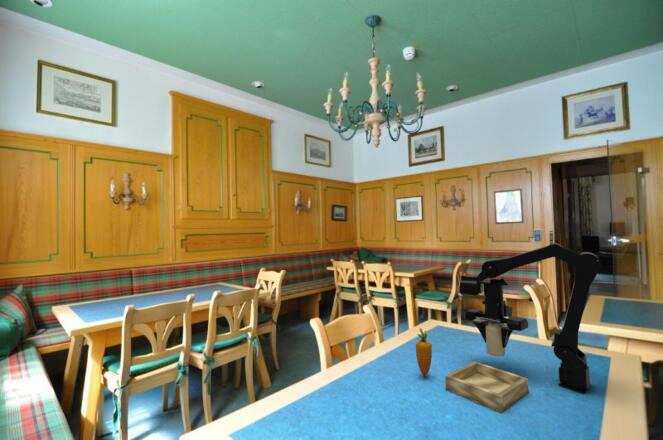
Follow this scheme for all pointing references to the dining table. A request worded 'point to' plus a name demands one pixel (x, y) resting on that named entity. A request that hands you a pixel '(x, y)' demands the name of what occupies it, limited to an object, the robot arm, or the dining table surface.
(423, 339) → the carrot
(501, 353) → the candle
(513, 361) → the dining table surface
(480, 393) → the box
